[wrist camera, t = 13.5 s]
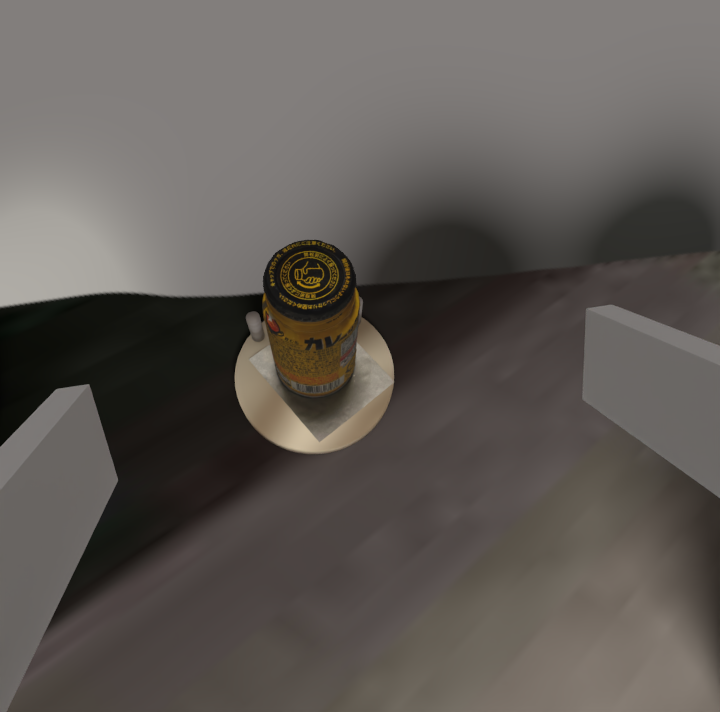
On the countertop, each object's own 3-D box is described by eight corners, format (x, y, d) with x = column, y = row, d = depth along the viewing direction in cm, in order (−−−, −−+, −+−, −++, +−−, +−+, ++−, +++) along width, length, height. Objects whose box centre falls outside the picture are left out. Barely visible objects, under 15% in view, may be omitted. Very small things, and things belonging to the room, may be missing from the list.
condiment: (323, 307, 43) (319, 207, 32) (394, 382, 40) (416, 301, 29) (248, 360, 41) (217, 272, 30) (319, 443, 38) (313, 380, 27)
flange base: (421, 360, 42) (429, 336, 39) (335, 486, 38) (335, 473, 34) (298, 286, 45) (295, 257, 41) (204, 397, 40) (191, 376, 37)
